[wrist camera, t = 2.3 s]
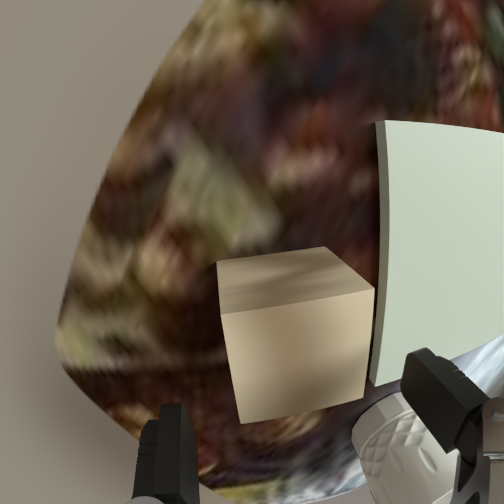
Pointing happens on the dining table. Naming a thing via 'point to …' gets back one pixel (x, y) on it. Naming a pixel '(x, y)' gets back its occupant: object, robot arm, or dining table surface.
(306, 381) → the beech cube
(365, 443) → the white cup
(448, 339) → the sage board
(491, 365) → the dining table surface
